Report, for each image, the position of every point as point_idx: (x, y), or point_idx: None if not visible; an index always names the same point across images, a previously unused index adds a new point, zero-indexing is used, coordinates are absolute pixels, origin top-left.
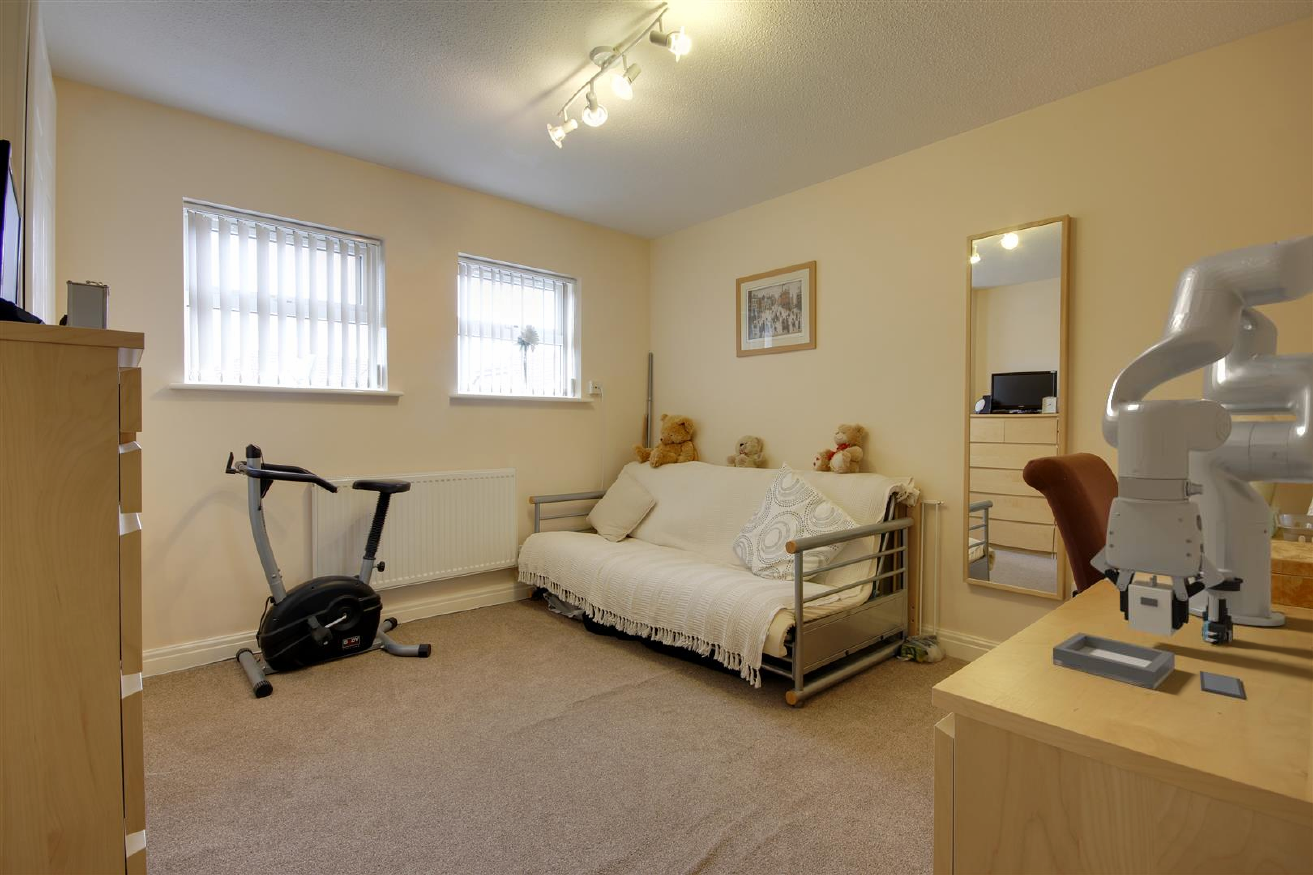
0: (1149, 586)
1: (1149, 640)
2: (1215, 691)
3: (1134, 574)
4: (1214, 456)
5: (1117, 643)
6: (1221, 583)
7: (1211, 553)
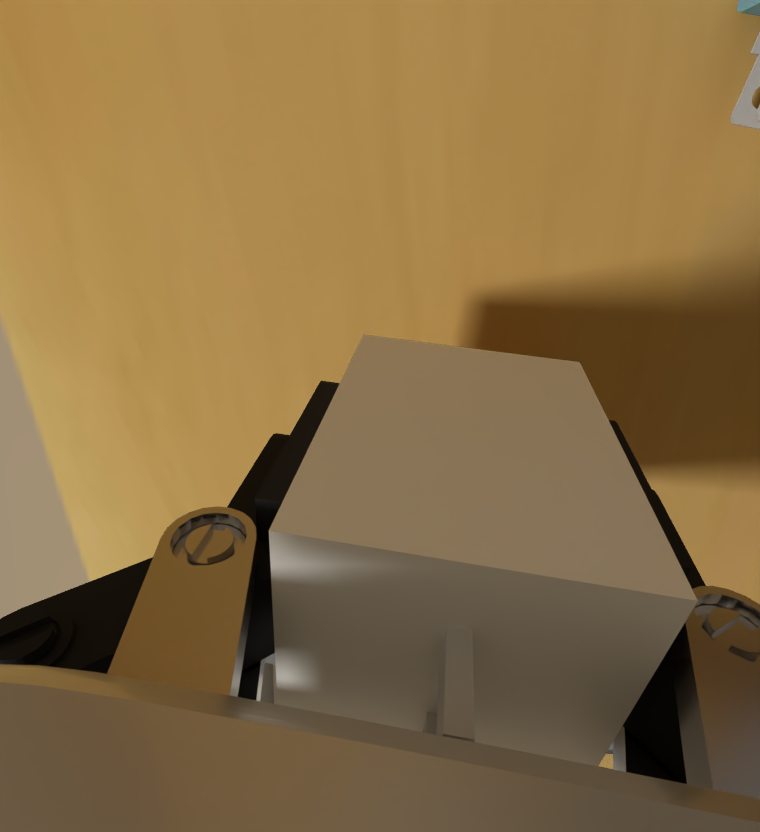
0: (419, 726)
1: (431, 297)
2: (609, 750)
3: (238, 674)
4: None
5: None
6: None
7: None
